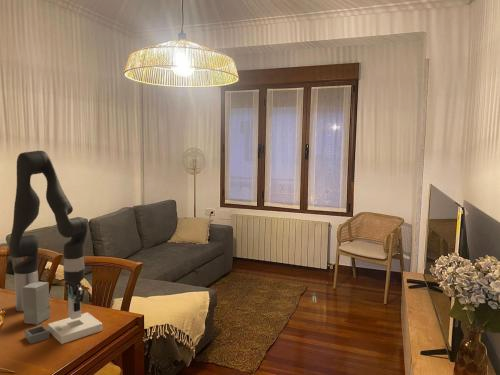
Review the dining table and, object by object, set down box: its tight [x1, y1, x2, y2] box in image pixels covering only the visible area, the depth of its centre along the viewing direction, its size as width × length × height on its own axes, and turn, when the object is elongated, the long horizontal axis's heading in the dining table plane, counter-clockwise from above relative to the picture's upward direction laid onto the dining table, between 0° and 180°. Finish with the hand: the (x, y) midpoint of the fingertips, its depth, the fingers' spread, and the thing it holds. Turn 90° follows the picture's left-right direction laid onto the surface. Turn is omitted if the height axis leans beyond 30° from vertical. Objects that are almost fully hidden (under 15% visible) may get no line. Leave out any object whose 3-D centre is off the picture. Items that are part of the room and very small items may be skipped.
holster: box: [24, 324, 50, 345], centre depth 152 cm, size 7×7×3 cm
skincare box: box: [22, 281, 51, 326], centre depth 165 cm, size 8×7×16 cm
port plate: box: [47, 312, 103, 345], centre depth 158 cm, size 14×16×3 cm
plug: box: [67, 292, 82, 320], centre depth 157 cm, size 4×4×10 cm
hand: (74, 309), depth 157 cm, fingers closed on plug, 3 cm apart
